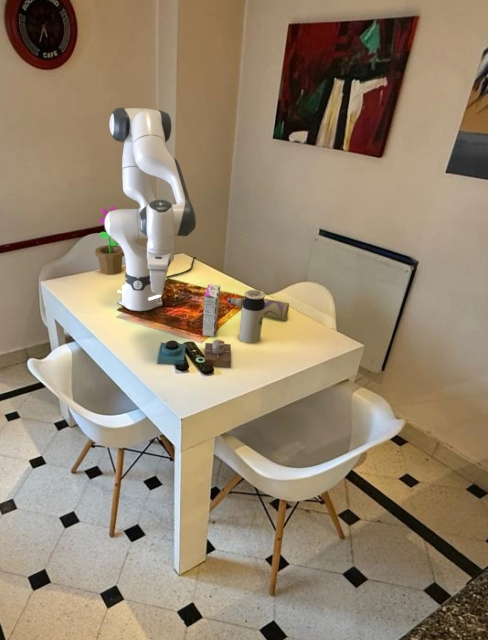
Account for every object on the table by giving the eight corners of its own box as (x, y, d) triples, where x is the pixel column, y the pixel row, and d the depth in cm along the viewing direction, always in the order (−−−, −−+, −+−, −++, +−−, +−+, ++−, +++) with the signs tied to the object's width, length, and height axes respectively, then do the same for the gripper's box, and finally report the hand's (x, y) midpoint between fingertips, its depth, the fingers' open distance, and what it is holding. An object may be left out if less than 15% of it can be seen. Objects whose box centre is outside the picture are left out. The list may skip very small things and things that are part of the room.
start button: (167, 344, 163) (167, 339, 161) (178, 344, 162) (178, 340, 161) (166, 350, 159) (166, 345, 158) (177, 350, 159) (177, 346, 158)
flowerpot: (129, 266, 232) (126, 204, 214) (120, 277, 221) (117, 212, 203) (102, 264, 235) (97, 202, 217) (92, 274, 223) (86, 210, 206)
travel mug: (234, 338, 174) (239, 293, 163) (246, 331, 178) (252, 287, 168) (251, 345, 169) (258, 300, 159) (263, 338, 174) (270, 293, 164)
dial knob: (212, 354, 159) (213, 344, 156) (212, 348, 162) (212, 338, 160) (224, 354, 158) (224, 344, 156) (223, 348, 162) (224, 339, 159)
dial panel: (204, 350, 167) (205, 342, 165) (229, 351, 166) (230, 343, 164) (204, 366, 158) (204, 358, 156) (230, 367, 157) (231, 360, 155)
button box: (161, 347, 168) (161, 338, 165) (185, 349, 167) (186, 339, 165) (157, 363, 159) (157, 353, 156) (183, 365, 158) (184, 355, 156)
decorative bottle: (288, 315, 190) (291, 300, 186) (283, 323, 184) (286, 307, 180) (230, 302, 199) (231, 288, 195) (223, 309, 194) (225, 294, 190)
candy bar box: (205, 322, 184) (207, 283, 174) (217, 323, 183) (221, 285, 173) (201, 336, 175) (203, 295, 165) (214, 337, 174) (217, 297, 164)
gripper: (154, 242, 158) (154, 280, 166) (146, 266, 142) (147, 306, 150) (172, 243, 157) (172, 281, 166) (167, 267, 141) (166, 307, 150)
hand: (160, 293), depth 158 cm, fingers closed
